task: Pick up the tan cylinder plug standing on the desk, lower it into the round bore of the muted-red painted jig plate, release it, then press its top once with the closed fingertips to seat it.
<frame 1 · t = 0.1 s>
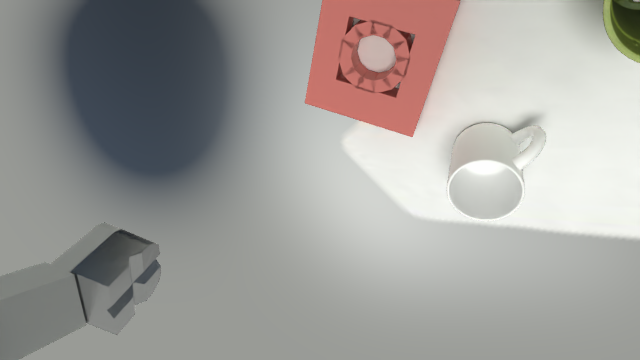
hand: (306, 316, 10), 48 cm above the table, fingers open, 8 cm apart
mug: (497, 140, 56), on the table
jig: (378, 51, 55), on the table
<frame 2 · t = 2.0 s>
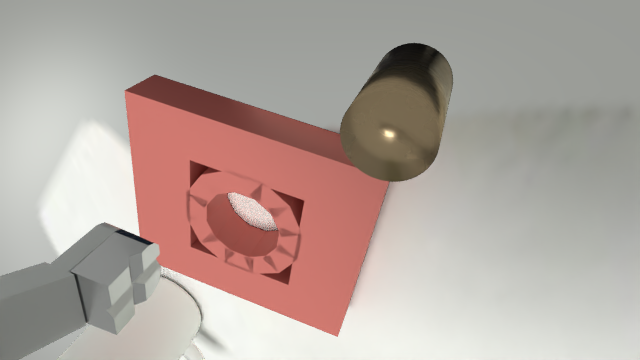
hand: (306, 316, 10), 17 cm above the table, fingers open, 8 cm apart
mug: (183, 313, 44), on the table
tan cylinder plug: (413, 81, 24), on the table
jig: (260, 201, 32), on the table
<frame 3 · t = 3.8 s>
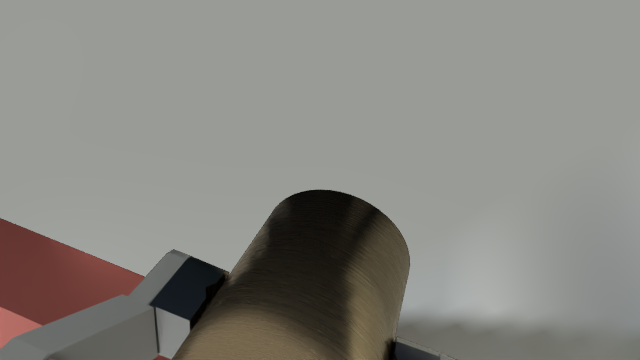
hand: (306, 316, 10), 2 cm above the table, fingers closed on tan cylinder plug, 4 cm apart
tan cylinder plug: (334, 252, 12), on the table, touching gripper
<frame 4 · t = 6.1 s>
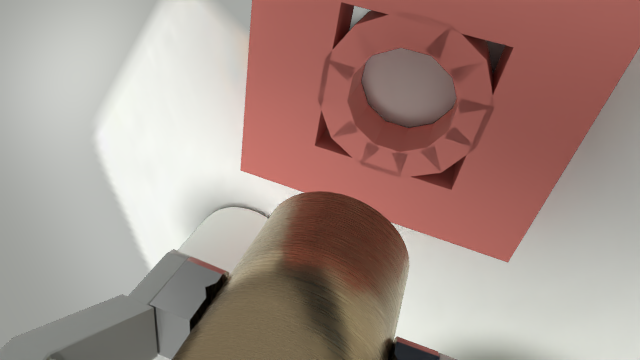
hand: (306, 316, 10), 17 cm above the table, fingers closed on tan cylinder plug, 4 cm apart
mug: (267, 257, 36), on the table
tan cylinder plug: (334, 253, 12), point 15 cm above the table, touching gripper
jig: (409, 82, 24), on the table
when the fingers open (4 cm above the table, at t = 8.2 s): tan cylinder plug drops 2 cm, resting in jig.
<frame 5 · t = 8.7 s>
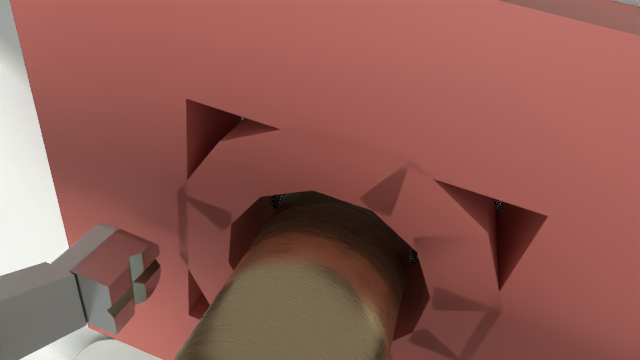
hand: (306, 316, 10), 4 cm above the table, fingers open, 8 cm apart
tan cylinder plug: (351, 214, 14), resting in jig
jig: (350, 212, 14), on the table
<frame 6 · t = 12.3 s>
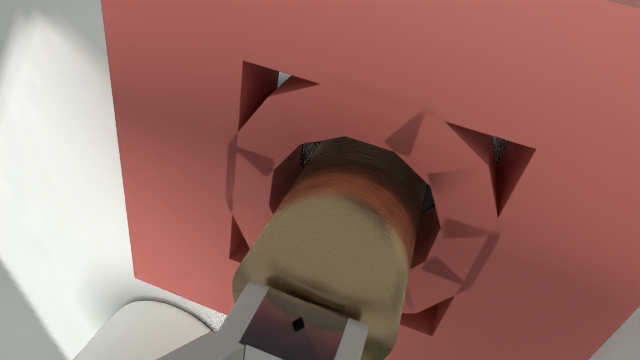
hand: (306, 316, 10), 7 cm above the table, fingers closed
mug: (200, 358, 28), on the table
tan cylinder plug: (370, 170, 16), resting in jig
jig: (370, 168, 16), on the table
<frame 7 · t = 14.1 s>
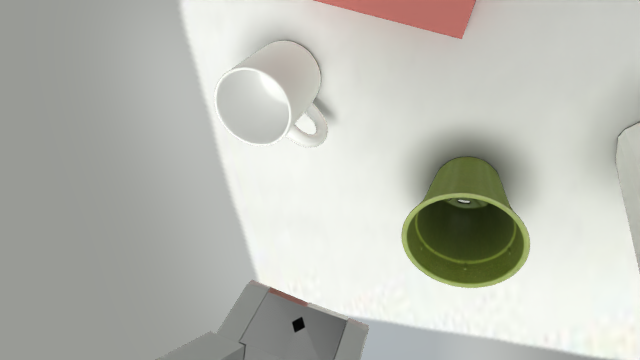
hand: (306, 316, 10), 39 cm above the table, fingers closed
mug: (301, 85, 51), on the table
plant pot: (466, 182, 51), on the table
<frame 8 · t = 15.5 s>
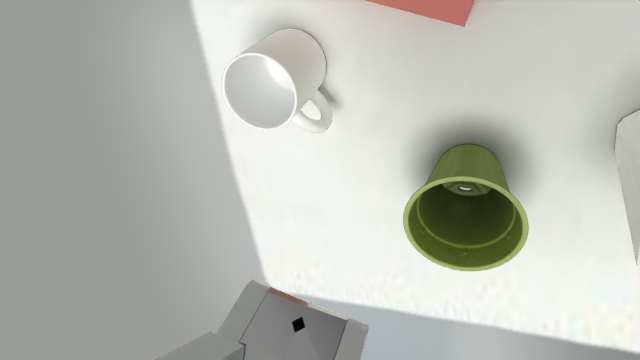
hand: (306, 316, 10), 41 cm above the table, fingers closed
mug: (306, 73, 52), on the table
plant pot: (467, 169, 52), on the table
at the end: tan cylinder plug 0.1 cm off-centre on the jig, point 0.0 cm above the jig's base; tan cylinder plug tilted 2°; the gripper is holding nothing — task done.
